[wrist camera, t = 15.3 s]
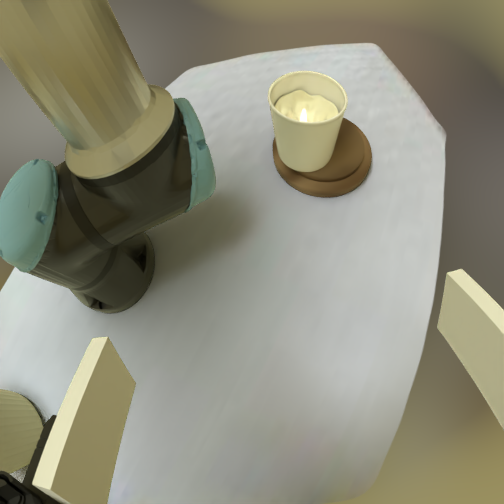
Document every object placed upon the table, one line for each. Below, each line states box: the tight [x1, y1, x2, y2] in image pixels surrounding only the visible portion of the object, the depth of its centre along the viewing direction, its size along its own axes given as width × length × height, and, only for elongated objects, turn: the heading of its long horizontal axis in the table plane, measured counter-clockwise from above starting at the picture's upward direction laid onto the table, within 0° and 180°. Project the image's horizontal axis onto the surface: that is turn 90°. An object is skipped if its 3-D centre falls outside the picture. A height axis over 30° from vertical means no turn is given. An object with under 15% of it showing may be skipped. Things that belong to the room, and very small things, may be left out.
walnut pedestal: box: [273, 118, 372, 197], centre depth 48 cm, size 16×16×4 cm
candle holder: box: [268, 71, 348, 172], centre depth 40 cm, size 10×10×12 cm
